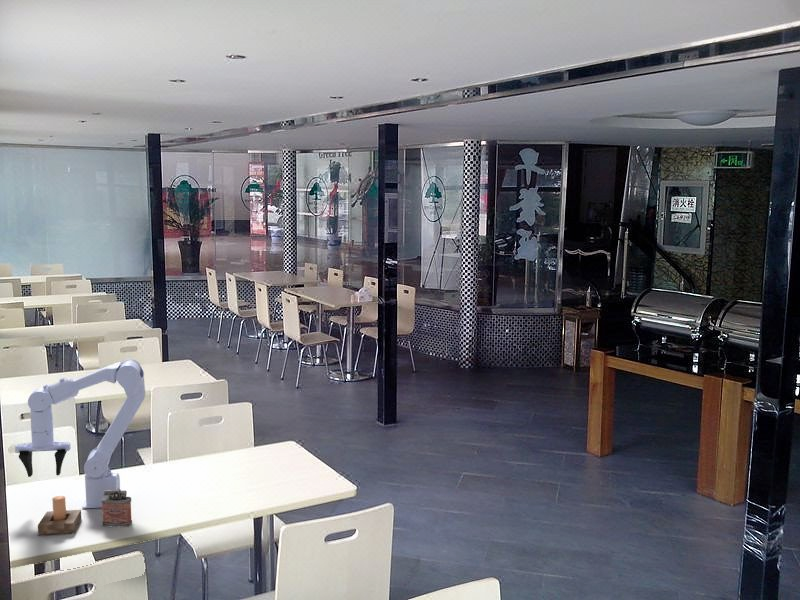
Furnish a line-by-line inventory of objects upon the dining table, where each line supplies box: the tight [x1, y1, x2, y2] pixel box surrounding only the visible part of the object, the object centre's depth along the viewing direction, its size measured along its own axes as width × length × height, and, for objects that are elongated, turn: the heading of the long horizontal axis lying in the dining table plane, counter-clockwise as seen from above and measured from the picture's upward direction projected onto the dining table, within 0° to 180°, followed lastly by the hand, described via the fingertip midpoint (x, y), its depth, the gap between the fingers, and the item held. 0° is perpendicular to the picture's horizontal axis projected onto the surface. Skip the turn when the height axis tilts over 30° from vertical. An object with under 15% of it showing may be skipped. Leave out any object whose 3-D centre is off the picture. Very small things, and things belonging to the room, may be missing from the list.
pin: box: [52, 495, 67, 521], centre depth 209 cm, size 3×3×8 cm
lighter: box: [101, 488, 133, 528], centre depth 212 cm, size 8×3×10 cm, turn 92°
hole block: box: [37, 509, 82, 537], centre depth 209 cm, size 9×9×3 cm
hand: (44, 474), depth 221 cm, fingers open, 7 cm apart
